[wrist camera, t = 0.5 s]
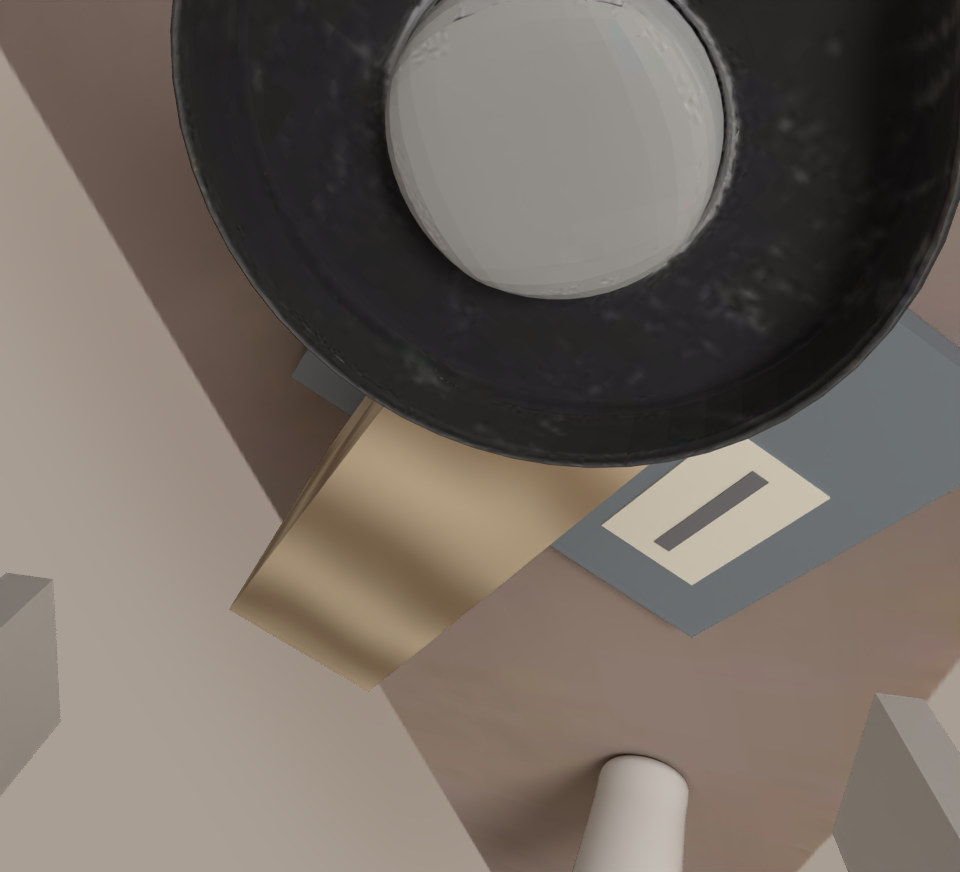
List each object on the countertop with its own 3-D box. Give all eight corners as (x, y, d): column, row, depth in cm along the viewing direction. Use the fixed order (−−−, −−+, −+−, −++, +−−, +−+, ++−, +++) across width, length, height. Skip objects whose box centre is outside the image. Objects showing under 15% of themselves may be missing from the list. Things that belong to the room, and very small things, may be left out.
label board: (538, -28, 26) (521, -6, 25) (1076, 393, 30) (1087, 432, 28) (302, 360, 39) (282, 388, 38) (694, 617, 43) (689, 651, 42)
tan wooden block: (590, 86, 25) (500, 257, 19) (754, 211, 26) (722, 415, 20) (329, 445, 39) (223, 618, 32) (444, 519, 40) (364, 701, 33)
